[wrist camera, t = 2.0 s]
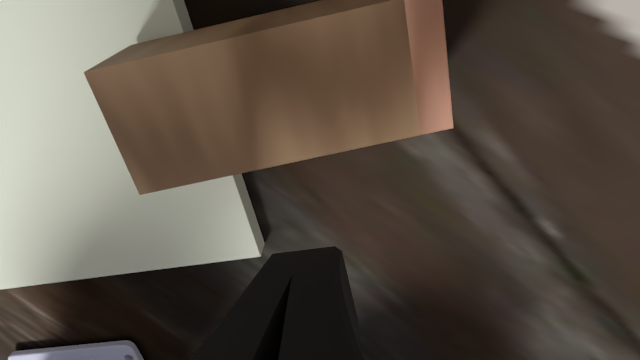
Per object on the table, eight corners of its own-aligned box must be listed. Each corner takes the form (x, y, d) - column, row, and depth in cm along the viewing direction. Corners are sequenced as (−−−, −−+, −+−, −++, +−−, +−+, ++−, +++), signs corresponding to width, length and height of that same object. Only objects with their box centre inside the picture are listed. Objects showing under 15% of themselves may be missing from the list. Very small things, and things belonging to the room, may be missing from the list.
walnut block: (171, 146, 18) (421, 91, 17) (139, 195, 14) (453, 127, 14) (131, 45, 16) (408, -21, 16) (83, 72, 13) (441, -12, 12)
